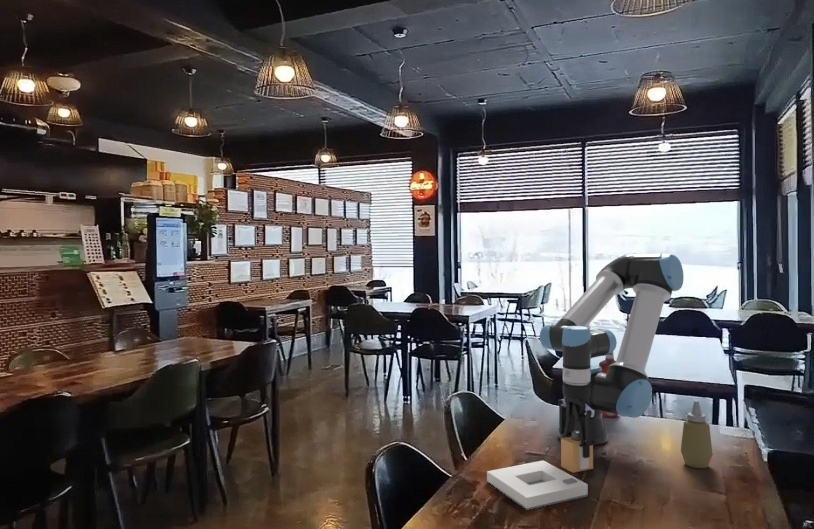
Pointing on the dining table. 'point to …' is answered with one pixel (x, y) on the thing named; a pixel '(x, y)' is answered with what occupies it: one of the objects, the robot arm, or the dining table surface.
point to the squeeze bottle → (696, 439)
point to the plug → (573, 453)
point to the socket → (537, 484)
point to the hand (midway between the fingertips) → (577, 464)
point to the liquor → (605, 366)
